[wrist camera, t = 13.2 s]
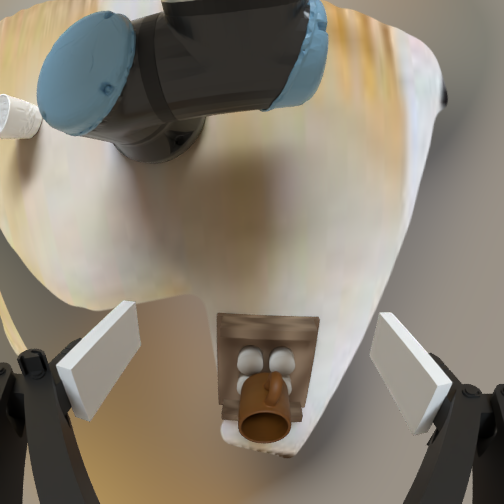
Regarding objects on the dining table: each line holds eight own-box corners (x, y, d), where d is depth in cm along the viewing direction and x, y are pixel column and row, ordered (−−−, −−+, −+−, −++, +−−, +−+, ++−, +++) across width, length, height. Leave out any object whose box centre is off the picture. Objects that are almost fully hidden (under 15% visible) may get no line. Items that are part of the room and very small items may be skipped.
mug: (250, 344, 42) (248, 382, 33) (300, 351, 42) (308, 390, 33) (237, 400, 45) (233, 440, 36) (281, 406, 45) (284, 446, 36)
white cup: (16, 143, 40) (-18, 141, 30) (22, 106, 38) (-11, 99, 28) (41, 139, 40) (5, 135, 30) (47, 99, 38) (13, 89, 28)
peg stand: (219, 401, 50) (216, 418, 45) (217, 312, 45) (213, 327, 41) (303, 403, 49) (306, 421, 44) (318, 316, 45) (324, 331, 40)
